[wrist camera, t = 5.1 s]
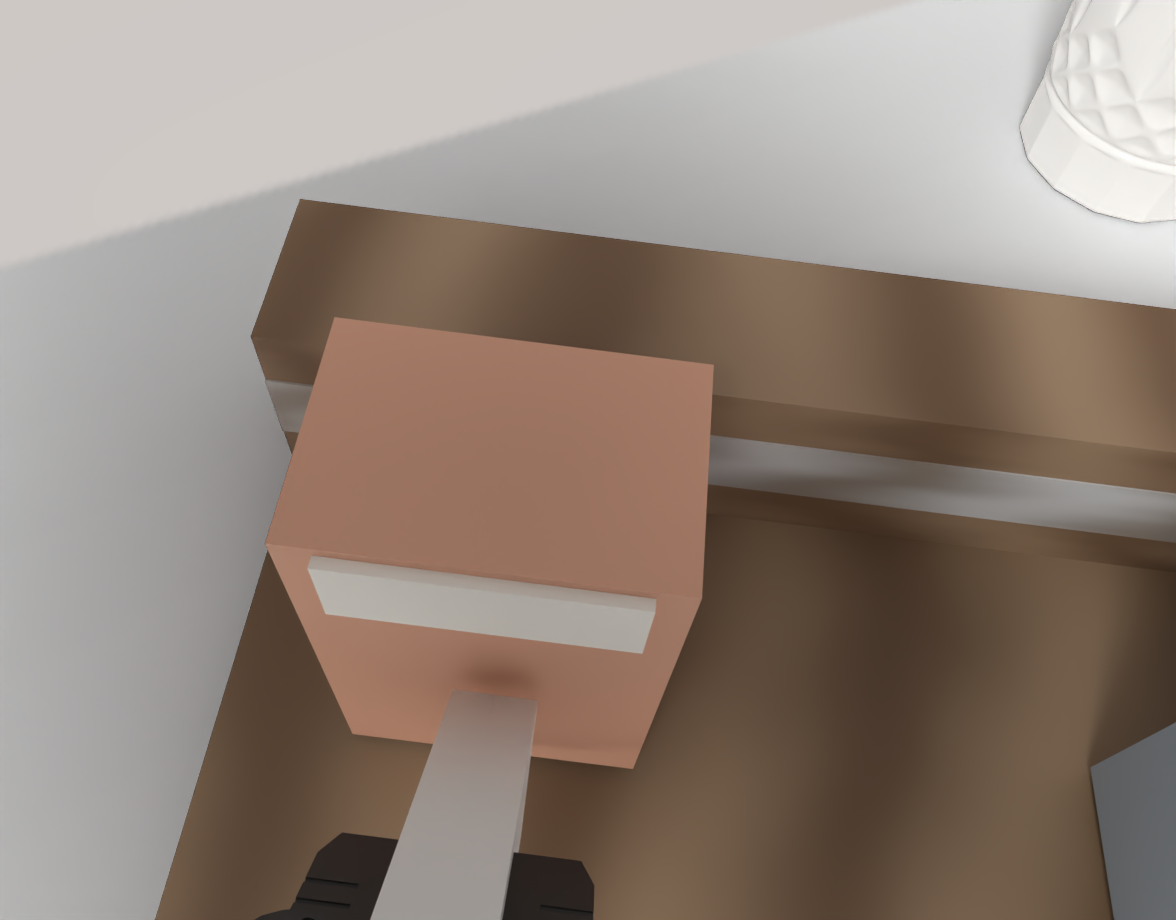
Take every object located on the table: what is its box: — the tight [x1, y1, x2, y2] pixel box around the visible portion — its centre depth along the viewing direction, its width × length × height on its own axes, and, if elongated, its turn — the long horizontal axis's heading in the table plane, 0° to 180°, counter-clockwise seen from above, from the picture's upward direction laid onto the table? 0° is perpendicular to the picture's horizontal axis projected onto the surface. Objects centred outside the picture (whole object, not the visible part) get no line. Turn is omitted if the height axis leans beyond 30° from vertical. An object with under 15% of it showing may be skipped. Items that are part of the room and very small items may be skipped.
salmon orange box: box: [265, 317, 714, 769], centre depth 19 cm, size 6×4×9 cm
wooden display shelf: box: [155, 199, 1176, 920], centre depth 21 cm, size 28×16×6 cm, turn 84°
